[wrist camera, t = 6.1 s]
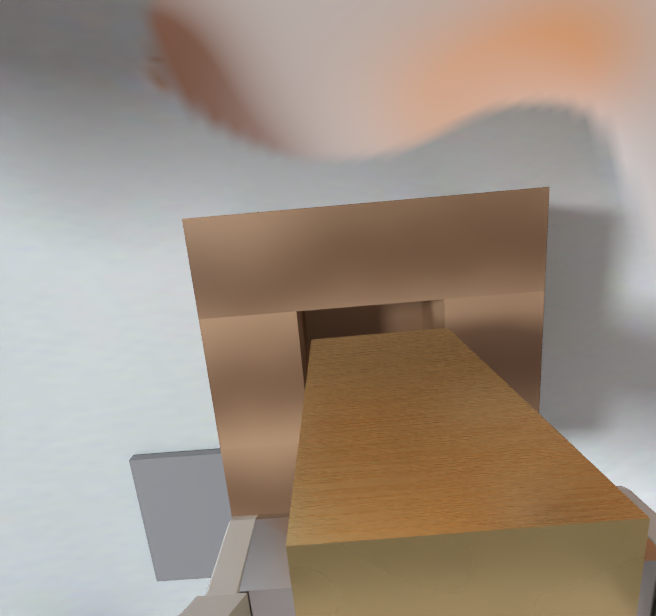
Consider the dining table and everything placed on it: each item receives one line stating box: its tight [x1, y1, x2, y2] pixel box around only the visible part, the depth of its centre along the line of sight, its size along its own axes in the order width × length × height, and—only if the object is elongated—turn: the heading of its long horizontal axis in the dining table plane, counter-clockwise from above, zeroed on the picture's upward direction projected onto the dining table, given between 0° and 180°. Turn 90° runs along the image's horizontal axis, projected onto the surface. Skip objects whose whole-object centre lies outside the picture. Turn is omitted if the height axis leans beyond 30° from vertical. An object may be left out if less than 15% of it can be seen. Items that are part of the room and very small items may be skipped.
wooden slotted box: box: [182, 187, 549, 518], centre depth 20 cm, size 14×14×8 cm
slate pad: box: [129, 449, 232, 581], centre depth 27 cm, size 10×10×1 cm
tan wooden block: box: [286, 328, 650, 616], centre depth 9 cm, size 4×4×8 cm
